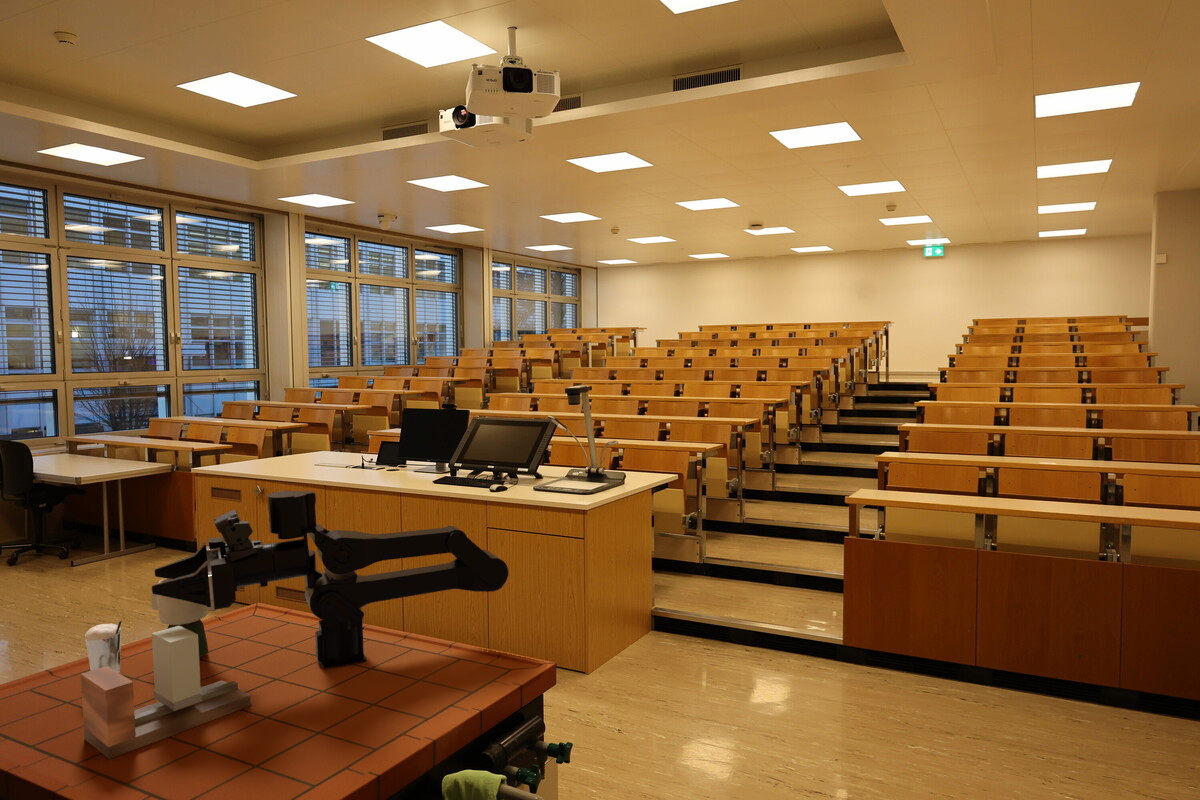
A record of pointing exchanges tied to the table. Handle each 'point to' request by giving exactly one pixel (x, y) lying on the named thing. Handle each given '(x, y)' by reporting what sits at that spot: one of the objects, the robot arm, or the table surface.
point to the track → (145, 712)
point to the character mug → (183, 615)
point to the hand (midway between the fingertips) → (153, 581)
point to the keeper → (176, 667)
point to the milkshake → (104, 646)
